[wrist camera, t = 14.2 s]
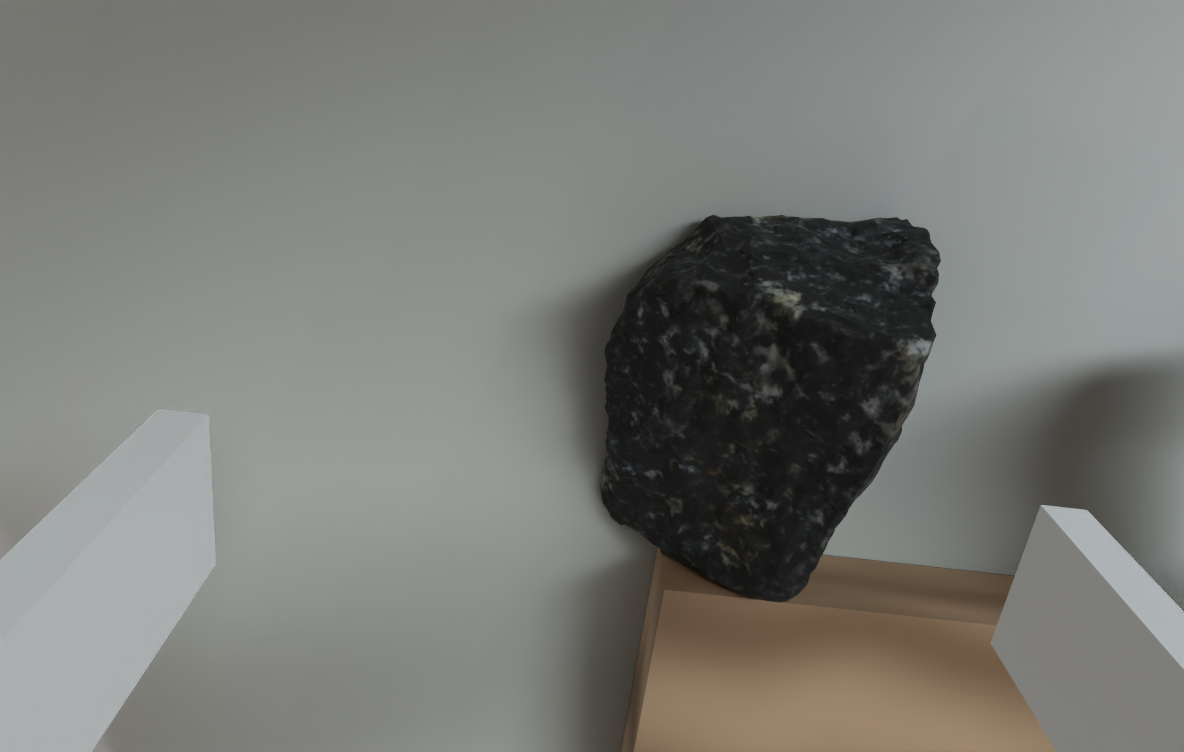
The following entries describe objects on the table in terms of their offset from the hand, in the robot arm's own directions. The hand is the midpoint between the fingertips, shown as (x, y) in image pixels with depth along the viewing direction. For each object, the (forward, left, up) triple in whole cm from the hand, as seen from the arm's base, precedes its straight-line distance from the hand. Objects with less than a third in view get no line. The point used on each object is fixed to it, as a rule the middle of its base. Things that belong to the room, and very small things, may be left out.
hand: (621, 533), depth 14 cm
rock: (+1, +4, -11) cm, 11 cm away
